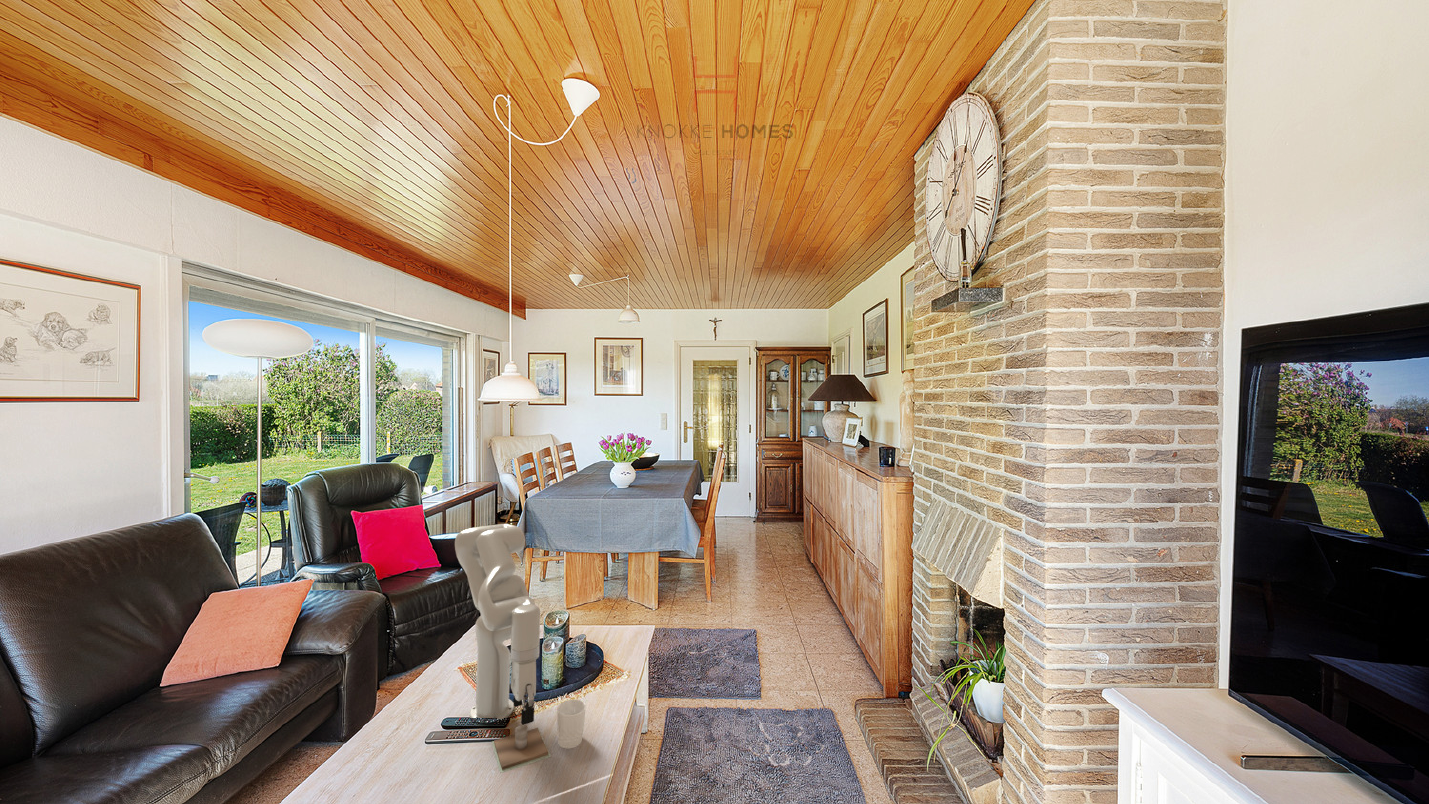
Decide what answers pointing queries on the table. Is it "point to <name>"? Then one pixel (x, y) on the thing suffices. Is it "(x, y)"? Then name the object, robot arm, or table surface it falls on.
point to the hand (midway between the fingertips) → (523, 713)
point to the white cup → (570, 723)
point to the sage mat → (521, 763)
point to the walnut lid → (520, 747)
